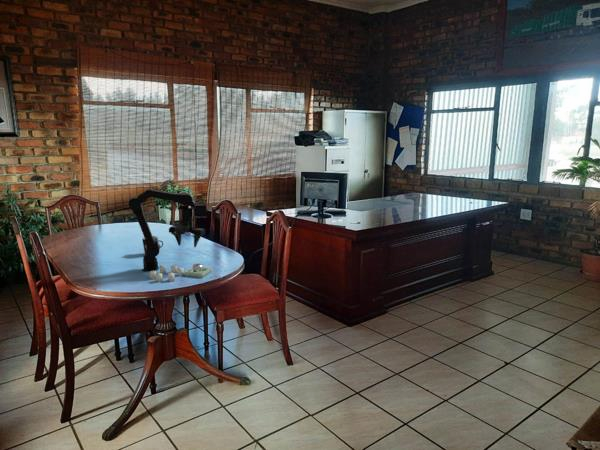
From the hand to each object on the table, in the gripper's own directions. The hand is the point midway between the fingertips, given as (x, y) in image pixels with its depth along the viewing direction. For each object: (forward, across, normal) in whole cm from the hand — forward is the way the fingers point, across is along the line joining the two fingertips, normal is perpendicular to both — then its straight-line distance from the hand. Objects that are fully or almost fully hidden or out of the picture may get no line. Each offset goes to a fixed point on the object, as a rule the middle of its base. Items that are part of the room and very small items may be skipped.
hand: (187, 246), depth 235 cm
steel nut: (+11, +10, -7) cm, 17 cm away
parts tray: (+12, +10, -7) cm, 17 cm away
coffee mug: (+12, -32, +15) cm, 37 cm away
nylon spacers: (+12, -2, -16) cm, 20 cm away
